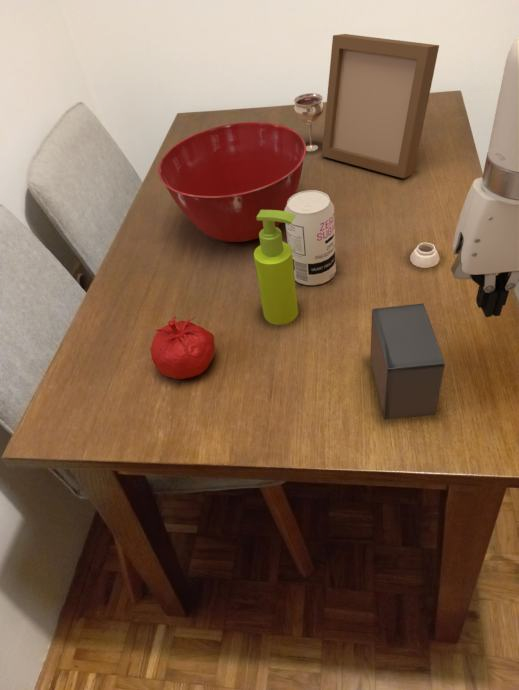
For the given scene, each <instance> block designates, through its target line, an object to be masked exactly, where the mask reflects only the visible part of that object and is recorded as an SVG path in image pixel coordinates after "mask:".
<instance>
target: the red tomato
mask: <svg viewBox="0 0 519 690" xmlns="http://www.w3.org/2000/svg"><path fill="white" fill-rule="evenodd" d="M196 318H197V317H193V318H190V319H188V320H177V321H176V319H177V317H176V315H173V317H172V320H168V322H167V324H168V325H164V326H162V327H161V328H157V329H156V328H155V329H154V331H156V333H155V335H154V337H153V339H152V342H151V345H150V356H151V361H152V363H153V365H154V366H155V368H156V369H157V371H158V372H159V373H160V374H161V375H162V376H164V377H167V378H172V379H175V380H185V379H189V378H194V377H196V376H199V375H201V374H202V373H204V372H205V371H206V370H207V369H208V368H209V366H210V364H211V362H212V360H213V358H214V356H215V353H216V351H215V349H216V348H215V346H216V345H215V335H214V334H213V333H212V332H210V331H209V330H206V329H205V328H204V327H203V326H200V325H196V324H195V323H193V322H192V320H194V319H196Z"/></svg>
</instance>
